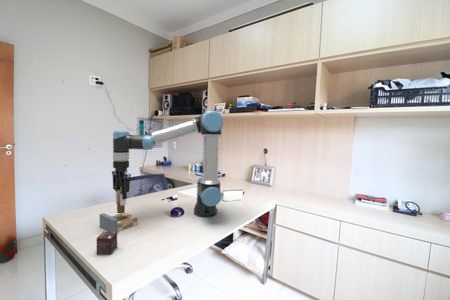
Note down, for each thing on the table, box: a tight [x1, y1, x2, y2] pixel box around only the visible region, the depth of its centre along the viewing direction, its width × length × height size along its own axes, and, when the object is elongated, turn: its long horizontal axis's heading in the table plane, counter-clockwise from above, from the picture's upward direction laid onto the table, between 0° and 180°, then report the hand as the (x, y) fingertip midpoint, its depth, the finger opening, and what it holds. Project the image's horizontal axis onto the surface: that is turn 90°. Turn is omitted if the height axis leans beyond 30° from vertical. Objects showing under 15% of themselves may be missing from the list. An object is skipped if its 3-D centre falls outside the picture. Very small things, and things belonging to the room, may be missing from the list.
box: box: [96, 230, 118, 256], centre depth 89 cm, size 6×6×7 cm
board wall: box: [99, 213, 119, 234], centre depth 115 cm, size 15×28×8 cm, turn 148°
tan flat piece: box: [111, 212, 138, 233], centre depth 111 cm, size 12×12×4 cm
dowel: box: [116, 189, 126, 214], centre depth 110 cm, size 4×4×12 cm
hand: (120, 203), depth 111 cm, fingers closed on dowel, 3 cm apart
